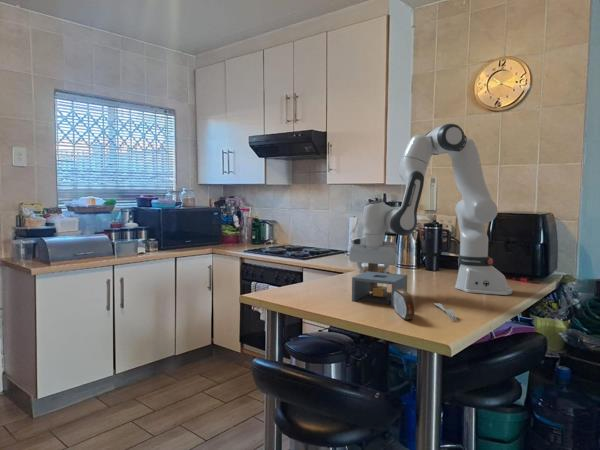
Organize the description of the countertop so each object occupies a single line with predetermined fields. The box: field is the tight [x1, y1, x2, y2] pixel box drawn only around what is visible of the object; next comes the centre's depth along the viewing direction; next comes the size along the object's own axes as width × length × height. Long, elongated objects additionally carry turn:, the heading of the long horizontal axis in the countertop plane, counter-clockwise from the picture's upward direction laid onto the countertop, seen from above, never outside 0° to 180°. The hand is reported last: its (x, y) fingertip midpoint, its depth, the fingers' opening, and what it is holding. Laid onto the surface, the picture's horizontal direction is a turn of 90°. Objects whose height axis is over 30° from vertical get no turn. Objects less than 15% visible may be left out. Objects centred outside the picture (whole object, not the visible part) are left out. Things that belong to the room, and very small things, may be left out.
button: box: [372, 285, 388, 297], centre depth 169 cm, size 4×4×3 cm
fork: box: [433, 302, 458, 322], centre depth 151 cm, size 3×21×3 cm, turn 178°
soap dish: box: [361, 263, 386, 273], centre depth 226 cm, size 12×10×5 cm
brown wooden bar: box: [368, 263, 378, 292], centre depth 184 cm, size 3×3×14 cm
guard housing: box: [351, 271, 408, 308], centre depth 168 cm, size 16×16×9 cm
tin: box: [393, 289, 415, 321], centre depth 146 cm, size 15×3×8 cm, turn 4°
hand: (372, 274), depth 184 cm, fingers open, 8 cm apart
